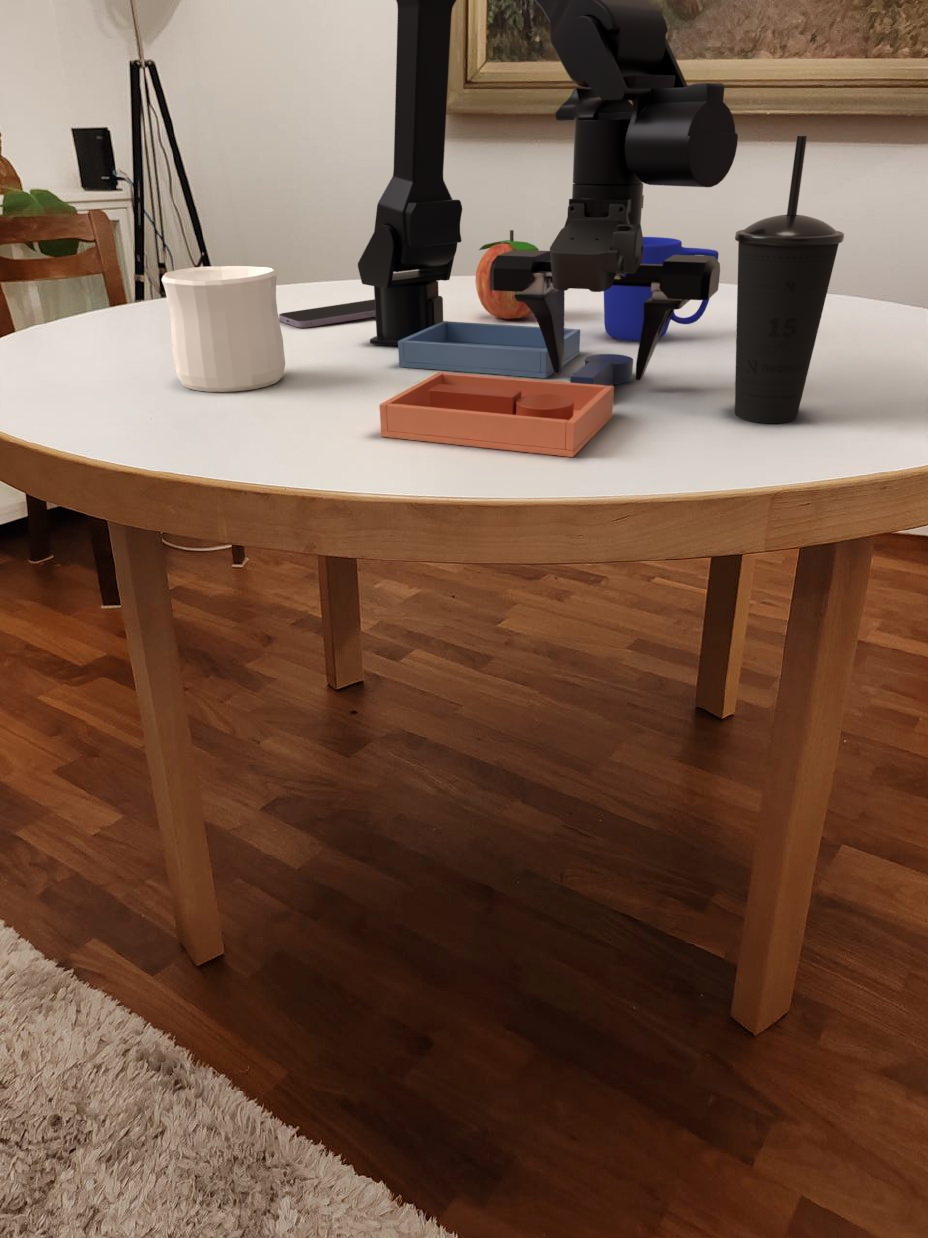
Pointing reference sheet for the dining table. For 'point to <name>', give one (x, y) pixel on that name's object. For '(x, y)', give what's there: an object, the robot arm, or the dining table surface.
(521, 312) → the fruit
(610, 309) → the mug
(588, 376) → the blue spoon
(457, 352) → the blue tray
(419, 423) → the terracotta tray
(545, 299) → the robot arm
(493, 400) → the terracotta spoon
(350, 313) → the smartphone
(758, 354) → the drinking cup
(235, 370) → the cup
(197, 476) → the dining table surface
